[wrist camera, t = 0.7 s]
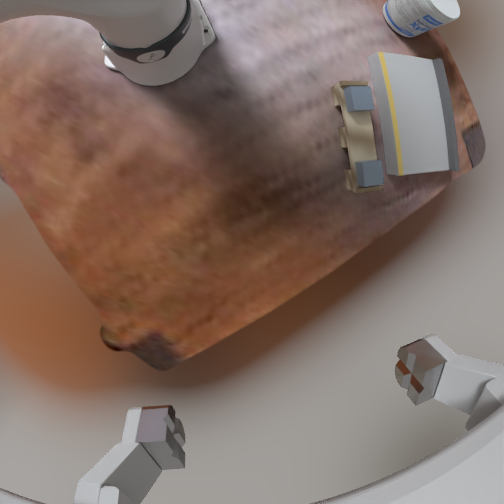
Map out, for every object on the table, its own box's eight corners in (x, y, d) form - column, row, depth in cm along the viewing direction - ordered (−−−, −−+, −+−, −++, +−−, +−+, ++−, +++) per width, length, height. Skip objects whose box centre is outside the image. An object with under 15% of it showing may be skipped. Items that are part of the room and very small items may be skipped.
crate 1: (343, 89, 41) (349, 86, 39) (362, 88, 41) (370, 86, 39) (347, 111, 42) (354, 110, 40) (367, 111, 43) (374, 109, 40)
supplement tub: (396, 41, 42) (442, 21, 28) (372, 4, 39) (412, -24, 25) (424, 34, 41) (468, 18, 28) (402, -1, 38) (442, -24, 24)
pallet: (330, 86, 44) (341, 80, 40) (355, 85, 44) (367, 81, 40) (346, 190, 50) (358, 193, 46) (370, 186, 51) (382, 189, 46)
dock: (367, 57, 43) (383, 48, 37) (424, 64, 44) (442, 58, 38) (386, 173, 50) (404, 176, 44) (440, 167, 51) (459, 170, 46)
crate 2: (355, 161, 45) (362, 162, 43) (374, 159, 45) (381, 160, 43) (357, 185, 46) (365, 186, 44) (376, 182, 47) (384, 184, 44)
